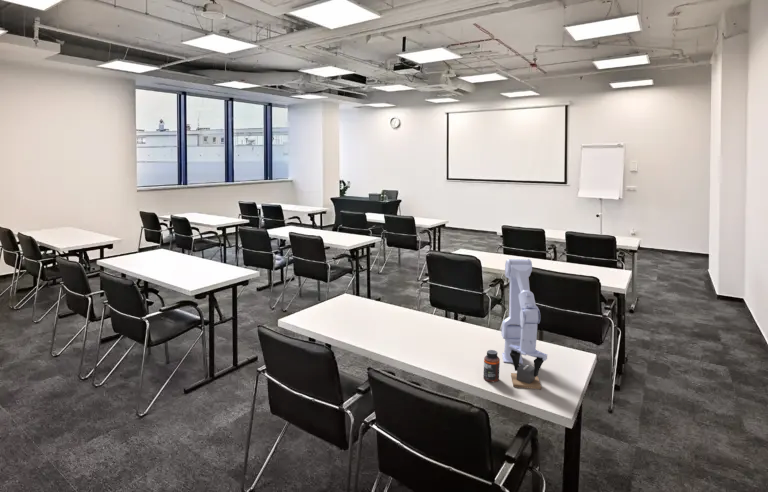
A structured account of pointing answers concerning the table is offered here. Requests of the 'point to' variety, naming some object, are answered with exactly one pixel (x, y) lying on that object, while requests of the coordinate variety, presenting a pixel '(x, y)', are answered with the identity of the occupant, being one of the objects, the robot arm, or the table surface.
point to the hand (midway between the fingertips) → (526, 372)
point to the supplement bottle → (491, 366)
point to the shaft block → (533, 385)
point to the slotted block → (525, 373)
